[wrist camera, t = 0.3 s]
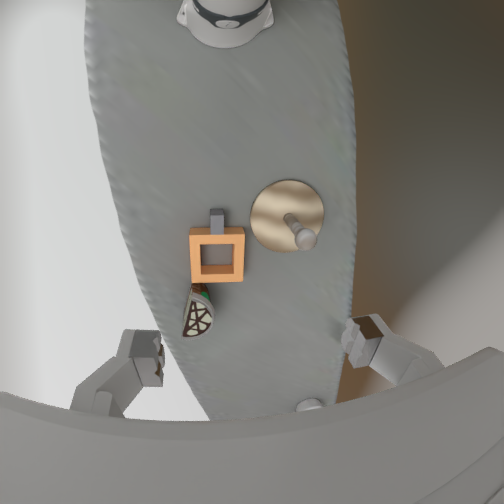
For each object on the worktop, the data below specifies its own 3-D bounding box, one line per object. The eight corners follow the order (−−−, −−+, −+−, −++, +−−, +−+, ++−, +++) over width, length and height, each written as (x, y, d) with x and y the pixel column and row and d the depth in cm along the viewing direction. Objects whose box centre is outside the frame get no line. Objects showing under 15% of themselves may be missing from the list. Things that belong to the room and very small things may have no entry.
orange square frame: (240, 272, 63) (242, 281, 60) (192, 273, 62) (192, 282, 58) (243, 209, 57) (245, 215, 53) (189, 209, 55) (188, 215, 51)
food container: (206, 318, 68) (207, 346, 59) (182, 313, 66) (180, 341, 57) (219, 278, 63) (222, 304, 54) (193, 272, 61) (192, 298, 53)
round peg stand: (252, 178, 54) (266, 196, 41) (325, 181, 57) (358, 200, 44) (248, 250, 61) (260, 286, 48) (316, 249, 64) (341, 281, 51)
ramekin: (314, 393, 92) (318, 403, 88) (324, 402, 97) (328, 411, 93) (289, 405, 94) (292, 416, 89) (300, 413, 99) (304, 423, 94)
